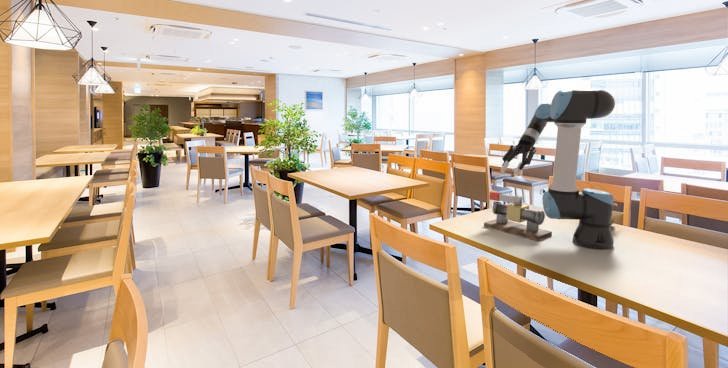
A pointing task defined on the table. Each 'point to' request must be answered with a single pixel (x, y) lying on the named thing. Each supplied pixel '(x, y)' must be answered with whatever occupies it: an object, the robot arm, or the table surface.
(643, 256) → the table surface
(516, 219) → the pipe and valve body
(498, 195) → the valve lever
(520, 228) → the walnut base board
